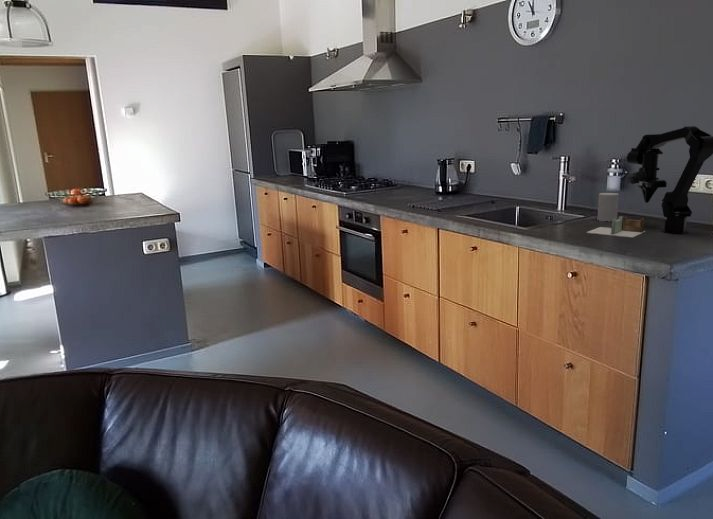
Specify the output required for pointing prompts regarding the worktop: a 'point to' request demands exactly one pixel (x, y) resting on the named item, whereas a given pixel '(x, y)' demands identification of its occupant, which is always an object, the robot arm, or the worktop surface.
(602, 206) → the gray block
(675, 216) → the robot arm
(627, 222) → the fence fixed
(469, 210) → the worktop surface
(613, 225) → the fence panel
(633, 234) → the card
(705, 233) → the worktop surface
